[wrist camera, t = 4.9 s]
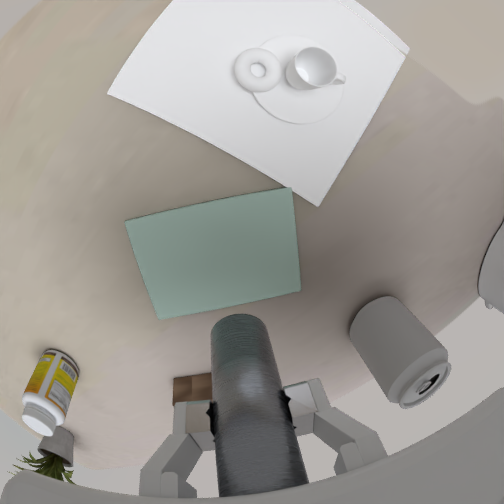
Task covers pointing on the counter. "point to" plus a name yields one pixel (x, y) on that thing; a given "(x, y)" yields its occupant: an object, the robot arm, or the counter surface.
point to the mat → (218, 252)
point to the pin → (251, 412)
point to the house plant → (55, 455)
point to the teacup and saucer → (267, 81)
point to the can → (399, 352)
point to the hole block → (192, 388)
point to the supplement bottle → (49, 392)
